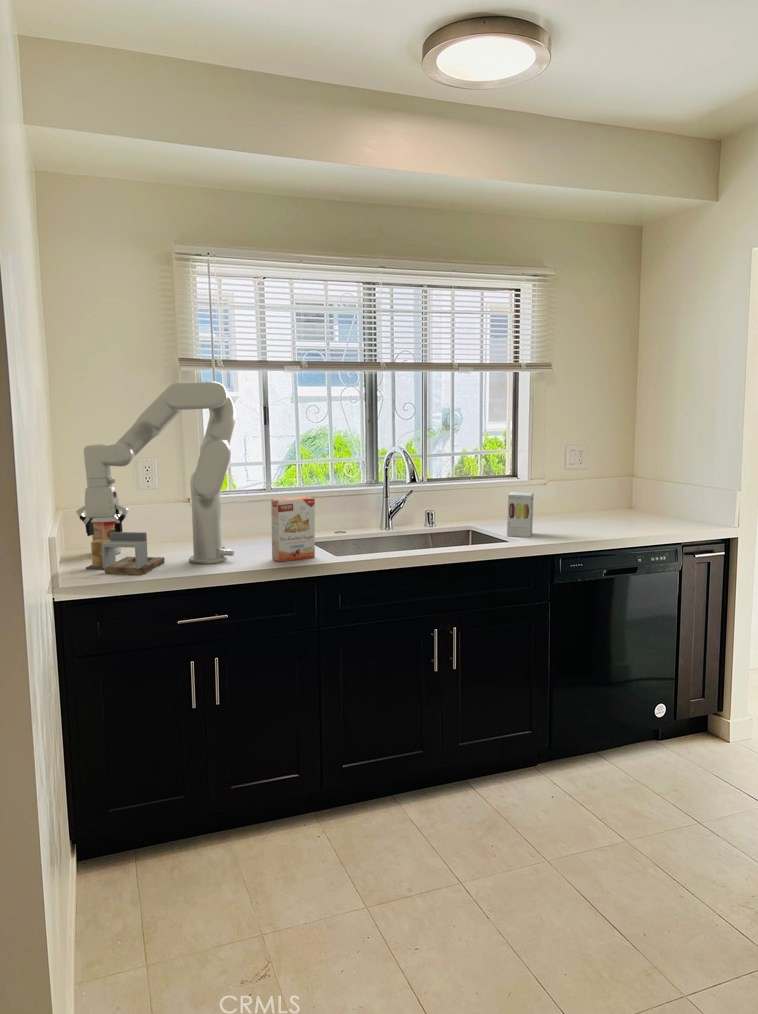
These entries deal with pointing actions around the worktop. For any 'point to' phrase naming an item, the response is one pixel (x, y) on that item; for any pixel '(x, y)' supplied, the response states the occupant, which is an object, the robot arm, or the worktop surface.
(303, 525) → the cracker box
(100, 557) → the block
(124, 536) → the cover
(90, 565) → the mat
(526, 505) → the supplement box
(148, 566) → the board
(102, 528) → the fruit juice
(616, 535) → the worktop surface
